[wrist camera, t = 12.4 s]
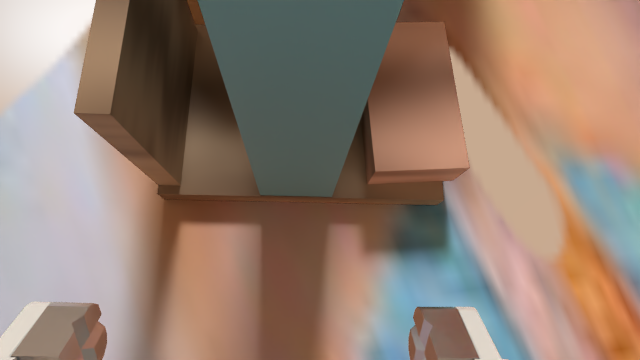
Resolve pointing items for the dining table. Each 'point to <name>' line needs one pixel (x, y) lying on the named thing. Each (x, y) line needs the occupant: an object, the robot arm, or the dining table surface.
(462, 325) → the robot arm
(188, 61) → the shelf
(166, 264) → the dining table surface
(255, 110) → the book
